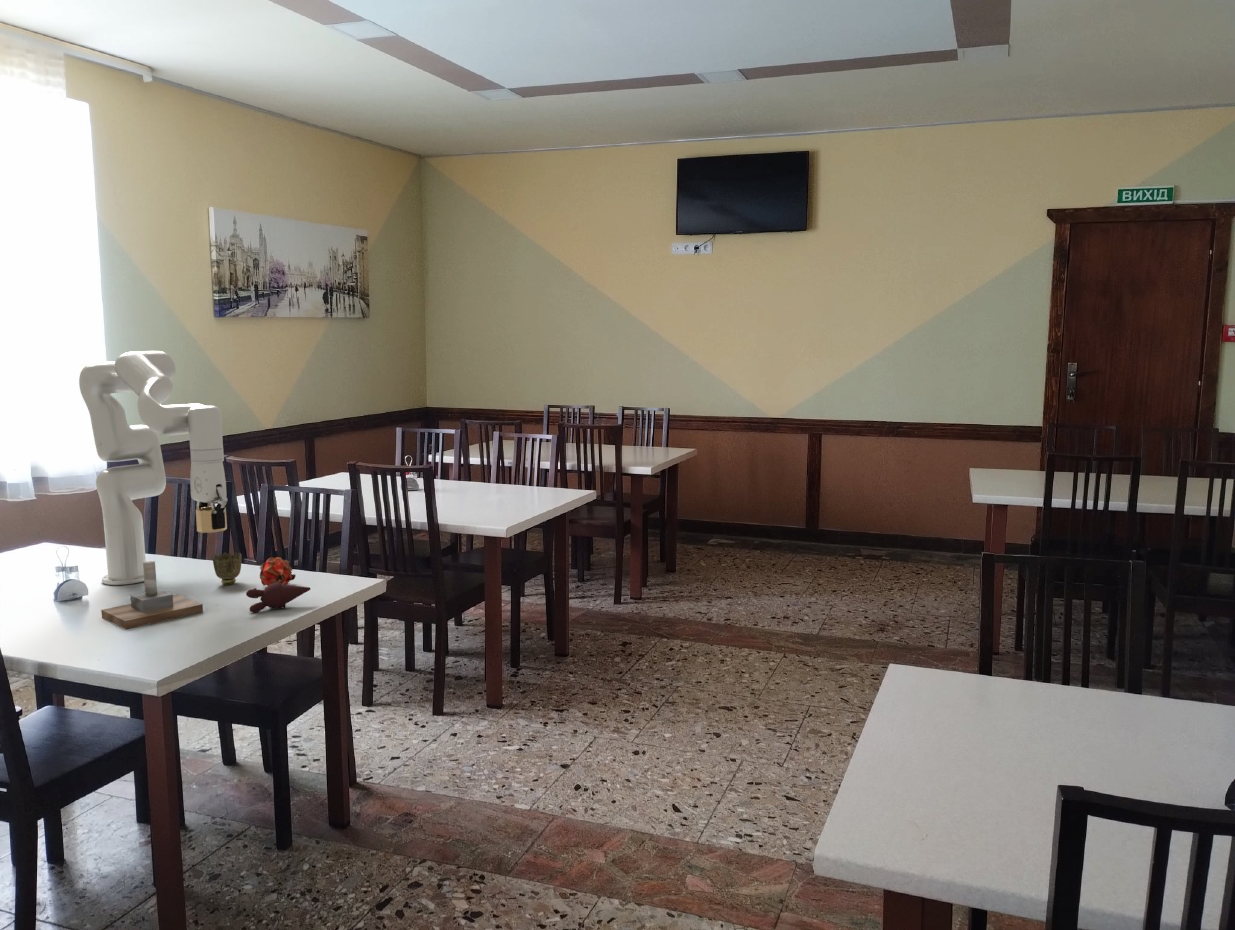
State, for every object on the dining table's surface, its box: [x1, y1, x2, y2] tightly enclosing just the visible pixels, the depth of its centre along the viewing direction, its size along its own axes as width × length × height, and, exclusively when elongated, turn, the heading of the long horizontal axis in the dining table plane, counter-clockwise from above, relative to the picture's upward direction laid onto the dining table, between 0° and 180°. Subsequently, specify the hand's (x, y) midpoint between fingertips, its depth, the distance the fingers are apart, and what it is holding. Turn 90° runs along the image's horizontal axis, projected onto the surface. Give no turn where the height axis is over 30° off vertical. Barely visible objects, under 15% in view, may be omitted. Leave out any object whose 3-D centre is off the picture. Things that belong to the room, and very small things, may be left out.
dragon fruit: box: [259, 557, 296, 587], centre depth 254 cm, size 8×8×12 cm
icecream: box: [245, 581, 311, 613], centre depth 234 cm, size 7×7×15 cm
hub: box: [195, 505, 228, 534], centre depth 237 cm, size 6×6×6 cm
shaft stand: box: [100, 560, 204, 630], centre depth 228 cm, size 14×18×13 cm
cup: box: [211, 552, 243, 586], centre depth 257 cm, size 8×7×8 cm
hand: (211, 526), depth 237 cm, fingers closed on hub, 6 cm apart
